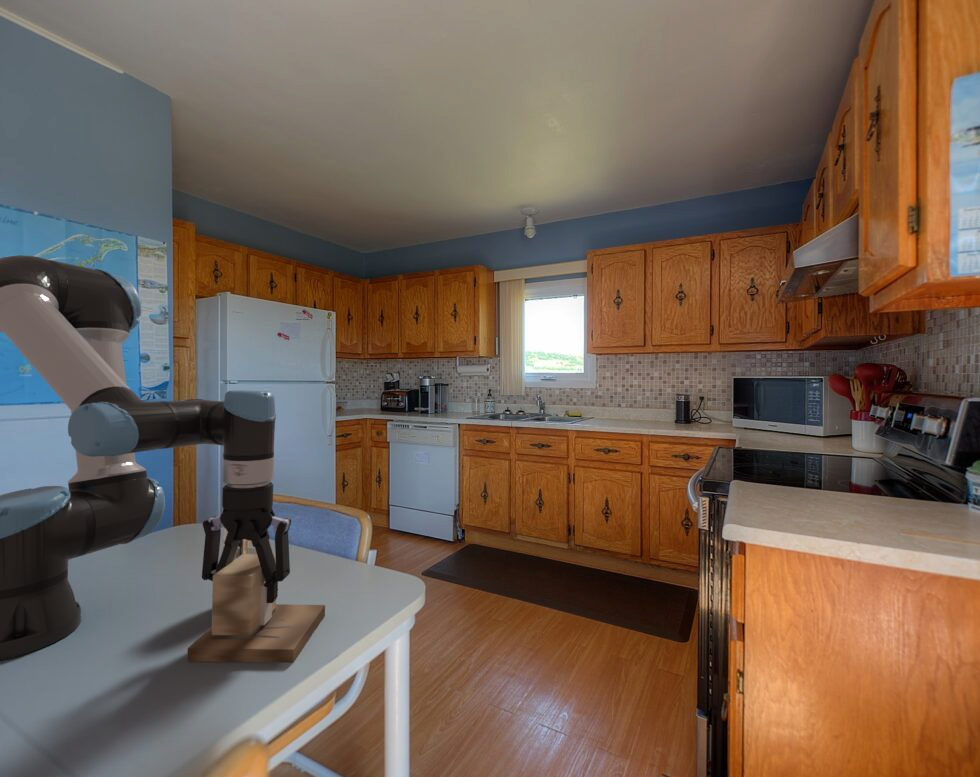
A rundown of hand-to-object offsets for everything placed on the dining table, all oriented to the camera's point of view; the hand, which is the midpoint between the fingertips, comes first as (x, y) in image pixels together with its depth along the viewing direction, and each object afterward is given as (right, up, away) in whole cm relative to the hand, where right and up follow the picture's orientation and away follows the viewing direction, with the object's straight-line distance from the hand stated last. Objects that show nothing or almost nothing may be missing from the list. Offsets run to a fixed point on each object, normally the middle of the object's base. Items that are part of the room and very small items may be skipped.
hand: (245, 620), depth 77 cm
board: (+3, -3, 0) cm, 4 cm away
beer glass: (-7, -2, +12) cm, 14 cm away
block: (0, -1, 0) cm, 1 cm away
